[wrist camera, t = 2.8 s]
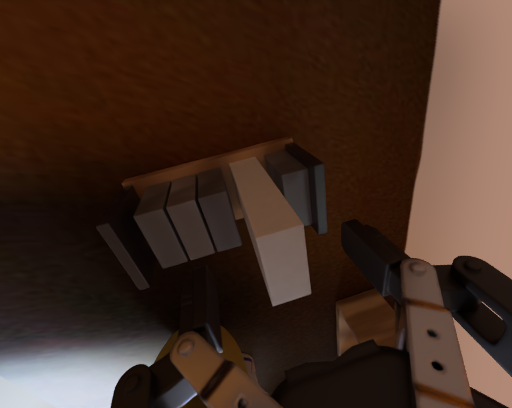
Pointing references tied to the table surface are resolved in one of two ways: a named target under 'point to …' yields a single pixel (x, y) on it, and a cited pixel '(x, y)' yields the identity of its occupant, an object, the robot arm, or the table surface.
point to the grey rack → (204, 206)
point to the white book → (272, 232)
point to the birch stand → (364, 321)
